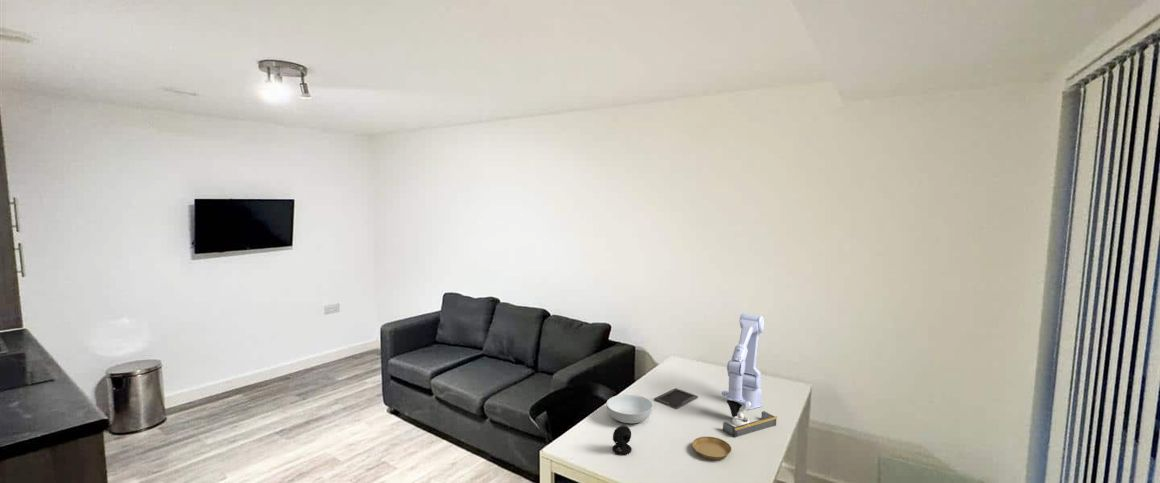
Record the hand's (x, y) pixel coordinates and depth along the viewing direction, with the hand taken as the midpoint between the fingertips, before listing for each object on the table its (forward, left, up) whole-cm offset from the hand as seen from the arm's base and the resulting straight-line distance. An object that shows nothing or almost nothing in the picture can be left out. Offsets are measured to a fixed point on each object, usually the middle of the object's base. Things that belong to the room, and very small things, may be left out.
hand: (734, 416), depth 207 cm
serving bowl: (+42, -21, -1) cm, 47 cm away
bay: (0, +9, -1) cm, 9 cm away
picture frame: (+11, -28, -2) cm, 30 cm away
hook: (0, +4, -1) cm, 4 cm away
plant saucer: (+28, +17, -2) cm, 33 cm away
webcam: (+59, +1, -1) cm, 59 cm away
